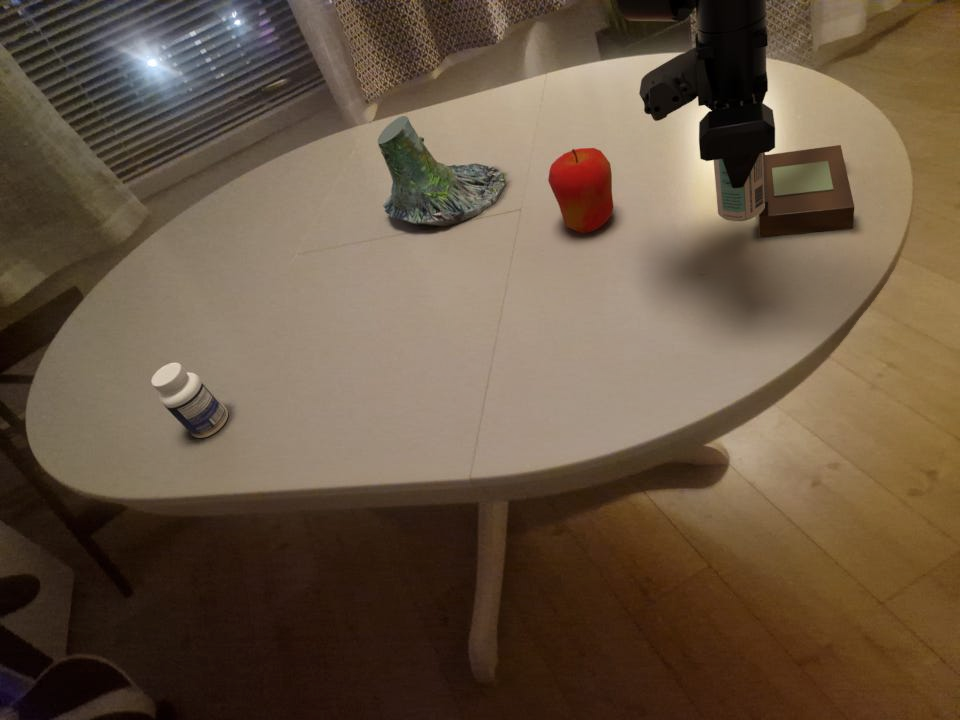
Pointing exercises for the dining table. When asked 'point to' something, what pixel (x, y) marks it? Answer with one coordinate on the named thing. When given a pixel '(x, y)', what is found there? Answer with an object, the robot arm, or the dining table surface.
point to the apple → (583, 188)
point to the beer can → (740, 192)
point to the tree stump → (433, 181)
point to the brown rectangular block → (806, 192)
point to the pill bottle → (189, 400)
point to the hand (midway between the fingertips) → (737, 173)
